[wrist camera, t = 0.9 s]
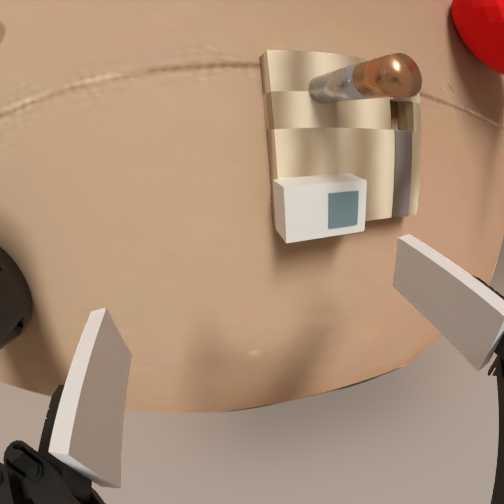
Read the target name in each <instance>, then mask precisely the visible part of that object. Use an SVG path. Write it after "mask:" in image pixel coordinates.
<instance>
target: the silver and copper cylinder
mask: <svg viewBox="0 0 504 504" xmlns="http://www.w3.org/2000/svg"><path fill="white" fill-rule="evenodd" d="M421 85H422V78H421V73H420V70H419V68H418V66H417V65H416V63H415V62H414V61H413V60H412V59H411V58H410V57H409V56H407V55H405V54H402V53H396V54H392V55H387V56H383V57H379V58H375V59H371V60H368V61H364V62H361V63H357V64H354V65H350V66H347V67H344V68H341V69H338V70H335V71H332V72H329V73H326V74H323V75H320V76H317V77H315V78H313V79H312V80H311V81H310V83H309V86H308V90H309V94H310V96H311V97H312V98H313V100H315V101H316V102H318V103H322V104H325V103H333V102H341V101H351V100H362V99H375V98H394V97H413V96H415V95H417V94H418V93H419V91H420V89H421Z"/></svg>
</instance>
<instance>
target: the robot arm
mask: <svg viewBox="0 0 504 504" xmlns="http://www.w3.org/2000/svg"><path fill="white" fill-rule="evenodd" d="M393 287H394V288H395V289H396V290H397V291H398V292H399V293H400V294H401V295H402V296H404V297H405V298H406V299H407V300H408V301H409V302H410V303H411V304H412V305H413V306H414V307H415V308H416V309H417V310H418V311H419V312H420V313H421V314H422V315H424V316H425V317H426V318H427V319H428V320H429V321H430V322H431V323H432V324H433V325H434V326H435V327H436V328H437V329H438V330H439V331H440V332H441V333H442V334H443V335H444V336H445V337H446V338H447V339H448V340H449V341H450V343H451V344H452V345H453V346H454V347H455V348H456V349H457V350H458V351H459V352H460V353H461V354H462V355H463V356H464V357H465V358H466V359H467V360H468V362H469V363H470V364H471V365H472V366H473V367H474V368H475V369H476V370H477V371H479V370H480V369H482V368H483V367H484V366H485V365H486V364H487V363H488V362H489V361H490V359H491V357H492V355H493V353H494V352H495V353H496V354H497V357H496V359H495V361H494V362H493V364H492V366H491V367H490V369H489V371H488V375H490V374H491V373H492V371H493V369H494V368H495V367H496V369H495V371H494V373H493V376H497V385H498V401H499V444H498V458H497V469H496V476H495V483H494V489H493V495H492V500H491V504H504V297H503V296H502V295H501V294H499V293H498V292H497V291H494V289H493V288H492V287H490V286H488V284H486V283H485V282H484V281H482V280H481V279H480V278H477V277H475V276H473V275H470V274H469V273H467V272H466V271H465V270H463V269H462V268H460V267H459V266H458V265H456V264H455V263H453V262H452V261H450V260H449V259H447V258H446V257H444V256H443V255H441V254H440V253H438V252H437V251H435V250H434V249H432V248H431V247H429V246H428V245H426V244H424V243H423V242H421V241H420V240H418V239H417V238H415V237H413V236H412V235H410V234H408V235H405V236H401V237H398V243H397V254H396V263H395V272H394V279H393ZM31 316H32V300H31V296H30V292H29V289H28V286H27V284H26V281H25V279H24V277H23V275H22V273H21V272H20V270H19V268H18V267H17V265H16V264H15V262H14V261H13V260H12V259H11V257H10V256H9V255H8V254H7V253H6V252H5V251H4V250H3V249H2V248H1V247H0V349H1V348H3V347H4V346H6V345H7V344H8V343H10V342H11V341H13V340H14V339H15V338H17V337H18V336H20V335H21V334H22V333H23V331H24V330H25V328H26V327H27V325H28V323H29V322H30V319H31ZM131 356H132V354H131V352H130V351H129V349H128V347H127V345H126V344H125V342H124V340H123V338H122V337H121V335H120V333H119V331H118V329H117V327H116V326H115V324H114V322H113V320H112V318H111V316H110V314H109V312H108V310H107V308H103V309H98V310H94V311H91V313H90V316H89V318H88V321H87V323H86V326H85V328H84V331H83V333H82V336H81V338H80V341H79V344H78V347H77V349H76V352H75V355H74V358H73V361H72V364H71V367H70V370H69V373H68V376H67V379H66V382H65V385H59V386H58V388H57V389H56V391H55V392H54V394H53V395H52V398H51V402H50V405H49V410H48V412H47V416H46V417H47V419H46V420H45V423H44V428H43V432H42V436H41V441H40V445H39V450H38V452H36V451H35V450H33V448H31V447H30V446H29V445H27V444H26V443H24V442H23V441H14V442H12V443H11V444H10V445H9V446H8V447H7V449H6V451H5V453H4V464H2V463H0V504H105V503H104V502H103V500H102V499H101V497H100V496H99V495H98V493H97V492H96V491H95V490H94V489H93V488H92V487H91V485H92V484H91V483H92V481H93V482H94V483H96V484H98V485H100V486H102V487H112V488H120V478H121V449H122V432H123V420H124V410H125V400H126V392H127V384H128V376H129V369H130V362H131Z"/></svg>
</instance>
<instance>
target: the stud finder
mask: <svg viewBox="0 0 504 504" xmlns="http://www.w3.org/2000/svg"><path fill="white" fill-rule="evenodd" d="M366 191H367V180H365V179H362V178H360V177H357V176H354V175H352V174H349V173H345V174H329V175H316V176H304V177H293V178H283V179H273V193H274V209H275V225H276V231H277V232H278V233H279V234H280V236H281V237H282V238H283V240H284V241H285V242H286V243H292V242H299V241H305V240H311V239H317V238H324V237H330V236H336V235H343V234H349V233H355V232H362V231H364V229H365V213H366Z"/></svg>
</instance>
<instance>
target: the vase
mask: <svg viewBox="0 0 504 504" xmlns="http://www.w3.org/2000/svg"><path fill="white" fill-rule="evenodd" d="M452 17H453V22H454V24H455V27H456V30H457V32H458V34H459V36H460V37H461V39H462V41H463V42H464V44H465V45H466V46H467V48H468V49H469V50H470V51H471V52H472V53H473V54H474V55H475V56H476V57H477V58H478V59H479V60H480V61H482V62H483V63H485V64H486V65H488V66H489V67H491V68H492V69H494V70H495V71H497V72H499V73H501V74H503V75H504V0H453V1H452Z"/></svg>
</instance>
